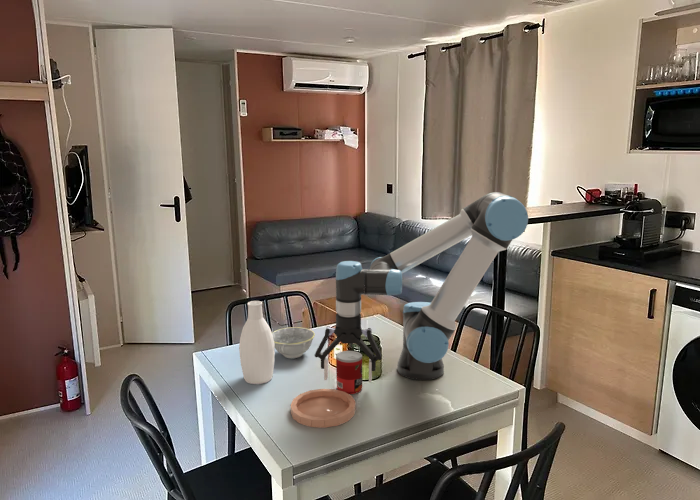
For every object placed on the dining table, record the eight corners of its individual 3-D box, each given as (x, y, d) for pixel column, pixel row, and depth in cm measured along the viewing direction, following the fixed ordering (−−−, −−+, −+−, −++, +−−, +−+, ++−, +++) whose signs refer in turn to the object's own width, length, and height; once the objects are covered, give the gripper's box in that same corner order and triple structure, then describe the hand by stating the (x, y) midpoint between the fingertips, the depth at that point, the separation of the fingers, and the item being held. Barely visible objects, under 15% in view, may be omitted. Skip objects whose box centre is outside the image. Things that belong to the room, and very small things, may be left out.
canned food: (360, 395, 160) (359, 361, 158) (334, 393, 162) (333, 359, 159) (364, 384, 167) (364, 351, 165) (339, 382, 169) (339, 349, 167)
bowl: (296, 367, 180) (296, 346, 179) (260, 357, 189) (259, 337, 187) (323, 351, 194) (323, 331, 192) (289, 343, 202) (288, 324, 200)
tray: (357, 396, 159) (357, 390, 159) (351, 428, 142) (351, 421, 141) (298, 394, 161) (298, 387, 161) (285, 425, 144) (284, 418, 143)
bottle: (267, 368, 180) (264, 295, 175) (281, 380, 171) (278, 304, 166) (235, 376, 174) (231, 301, 169) (248, 389, 165) (244, 310, 160)
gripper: (390, 310, 162) (389, 376, 166) (309, 307, 164) (310, 372, 169) (390, 318, 155) (388, 387, 159) (304, 315, 157) (305, 382, 161)
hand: (348, 379), depth 164 cm, fingers open, 13 cm apart
